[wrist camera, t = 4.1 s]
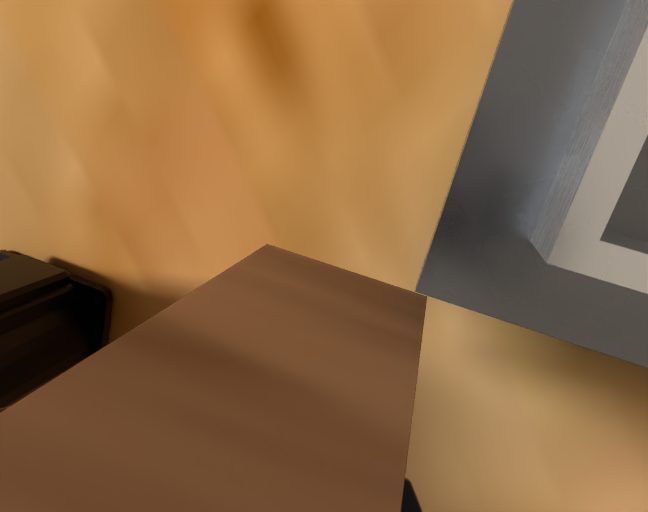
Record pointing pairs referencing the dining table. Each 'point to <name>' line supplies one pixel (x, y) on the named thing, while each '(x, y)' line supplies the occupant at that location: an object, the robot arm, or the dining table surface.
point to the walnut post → (231, 402)
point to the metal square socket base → (555, 181)
